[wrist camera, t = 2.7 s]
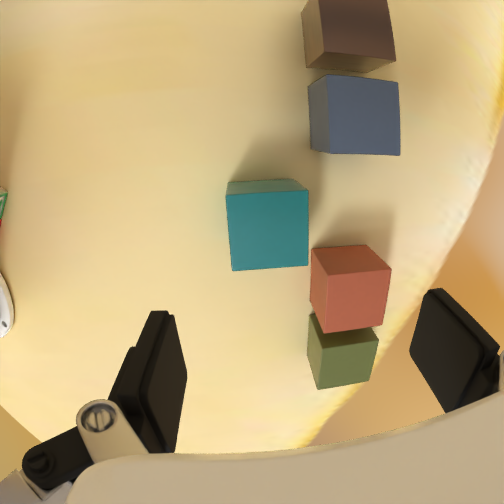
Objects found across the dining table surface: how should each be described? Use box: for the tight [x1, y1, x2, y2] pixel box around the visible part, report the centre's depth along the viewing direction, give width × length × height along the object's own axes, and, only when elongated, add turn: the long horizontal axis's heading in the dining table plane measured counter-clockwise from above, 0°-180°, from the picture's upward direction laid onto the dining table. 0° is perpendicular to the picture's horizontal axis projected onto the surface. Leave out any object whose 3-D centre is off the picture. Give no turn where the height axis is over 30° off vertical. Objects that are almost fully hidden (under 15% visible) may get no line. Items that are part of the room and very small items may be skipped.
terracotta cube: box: [310, 245, 392, 333], centre depth 23 cm, size 5×5×5 cm
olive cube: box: [307, 314, 379, 390], centre depth 26 cm, size 5×5×5 cm
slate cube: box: [308, 74, 400, 156], centre depth 19 cm, size 5×5×5 cm
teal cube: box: [226, 179, 309, 271], centre depth 21 cm, size 5×5×5 cm
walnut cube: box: [301, 0, 396, 73], centre depth 16 cm, size 5×5×5 cm
